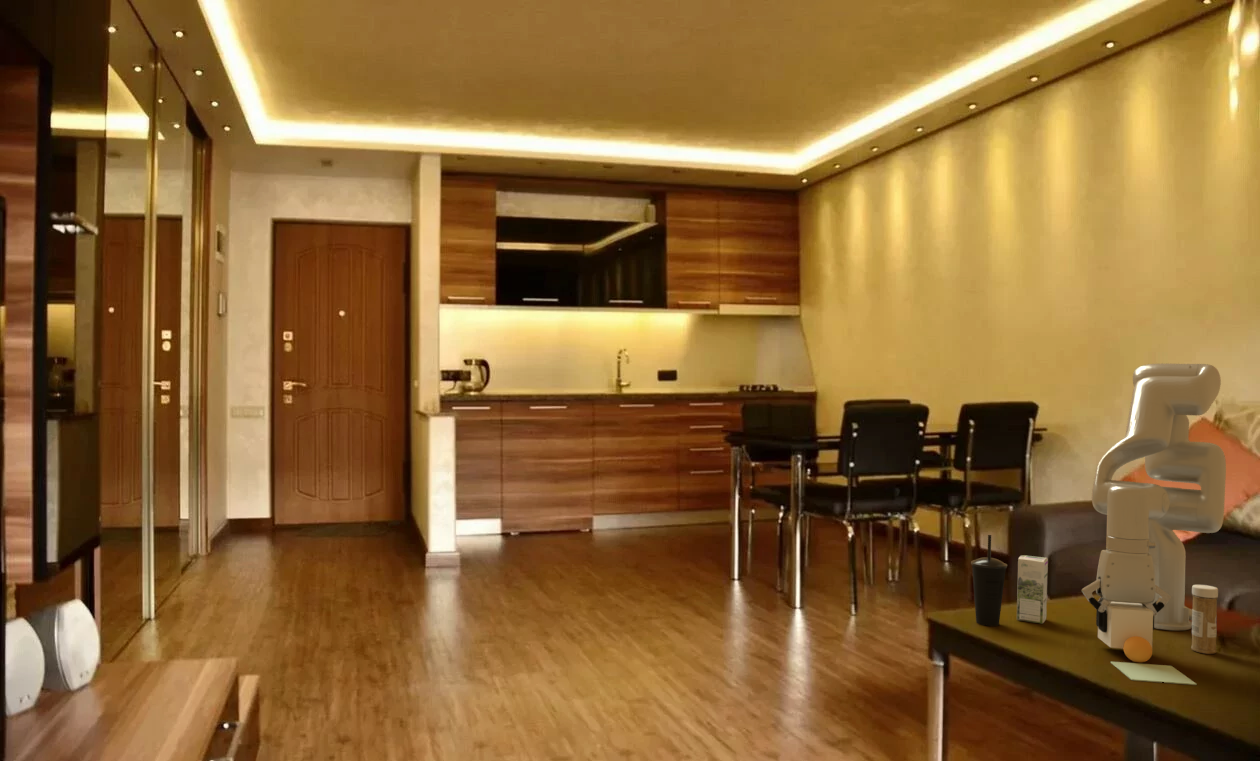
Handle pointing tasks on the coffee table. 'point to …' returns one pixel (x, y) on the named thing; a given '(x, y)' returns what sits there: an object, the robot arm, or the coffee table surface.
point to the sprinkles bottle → (1204, 619)
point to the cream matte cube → (1126, 623)
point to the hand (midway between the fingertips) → (1124, 631)
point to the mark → (1152, 673)
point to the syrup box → (1032, 589)
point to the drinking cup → (988, 588)
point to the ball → (1137, 649)
